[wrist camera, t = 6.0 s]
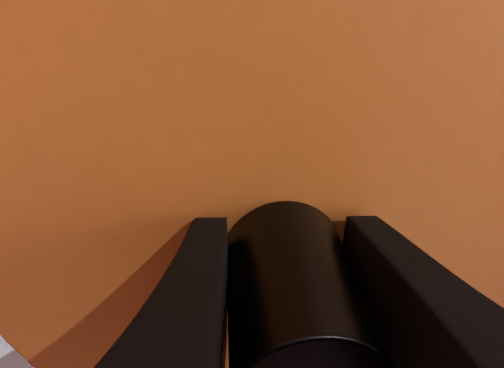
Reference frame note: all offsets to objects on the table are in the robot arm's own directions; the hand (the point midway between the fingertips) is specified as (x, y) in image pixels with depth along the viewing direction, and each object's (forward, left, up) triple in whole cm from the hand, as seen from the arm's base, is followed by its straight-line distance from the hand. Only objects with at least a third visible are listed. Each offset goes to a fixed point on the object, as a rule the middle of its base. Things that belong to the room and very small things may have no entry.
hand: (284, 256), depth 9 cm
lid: (0, 0, -1) cm, 1 cm away
